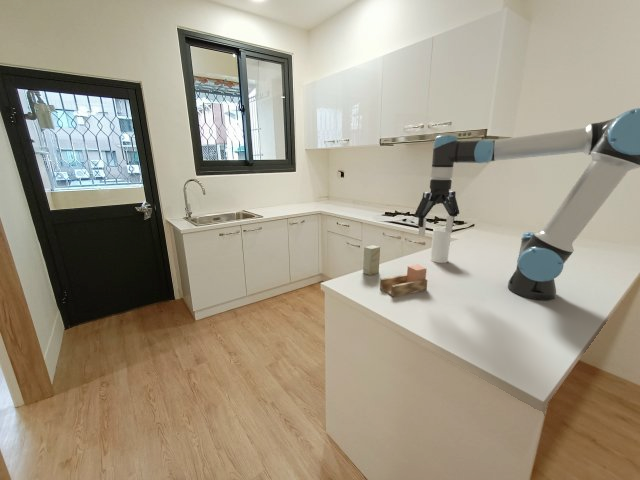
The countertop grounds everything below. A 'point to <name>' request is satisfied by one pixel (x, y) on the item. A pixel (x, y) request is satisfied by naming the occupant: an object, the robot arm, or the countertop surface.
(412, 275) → the block
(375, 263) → the skincare box
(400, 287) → the chute
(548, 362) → the countertop surface
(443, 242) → the cup
